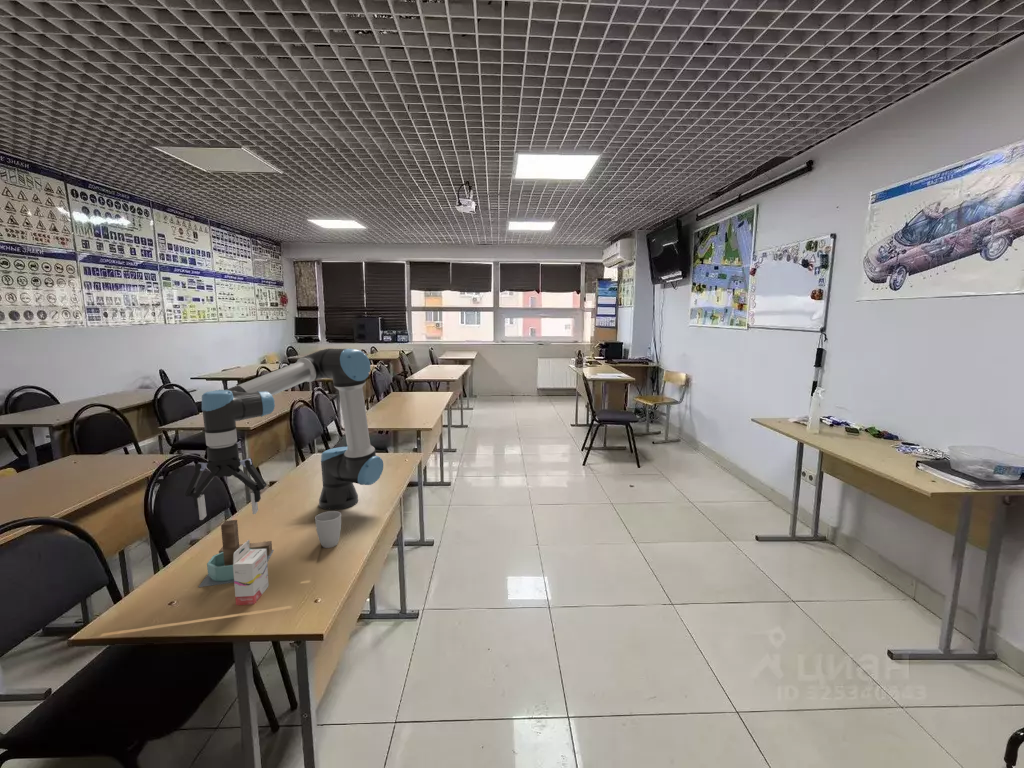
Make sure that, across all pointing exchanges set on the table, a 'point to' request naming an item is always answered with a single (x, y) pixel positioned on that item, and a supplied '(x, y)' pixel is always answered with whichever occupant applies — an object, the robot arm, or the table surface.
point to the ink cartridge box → (249, 574)
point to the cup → (328, 528)
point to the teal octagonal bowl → (220, 568)
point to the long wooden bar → (258, 546)
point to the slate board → (210, 582)
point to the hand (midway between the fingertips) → (229, 515)
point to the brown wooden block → (229, 540)
